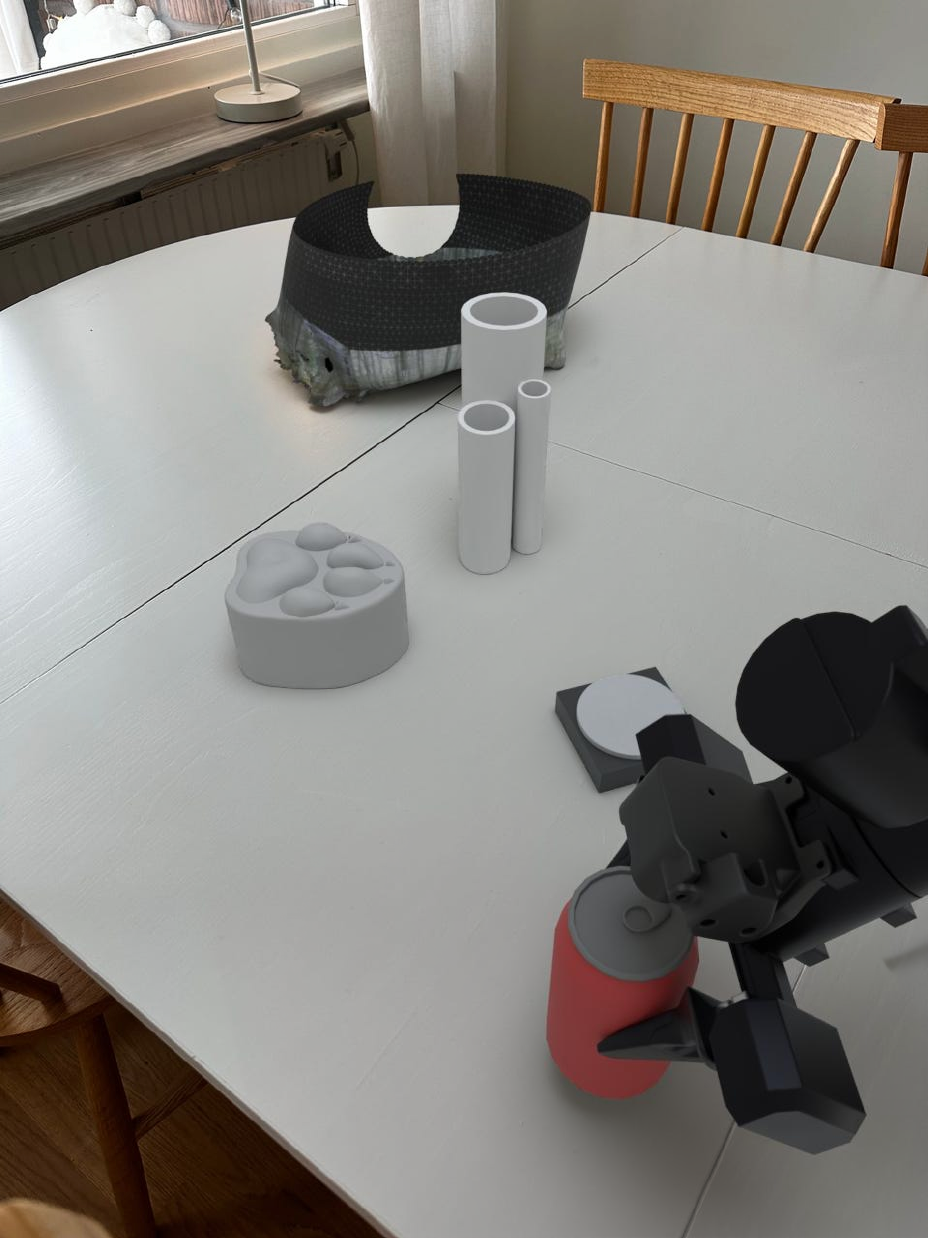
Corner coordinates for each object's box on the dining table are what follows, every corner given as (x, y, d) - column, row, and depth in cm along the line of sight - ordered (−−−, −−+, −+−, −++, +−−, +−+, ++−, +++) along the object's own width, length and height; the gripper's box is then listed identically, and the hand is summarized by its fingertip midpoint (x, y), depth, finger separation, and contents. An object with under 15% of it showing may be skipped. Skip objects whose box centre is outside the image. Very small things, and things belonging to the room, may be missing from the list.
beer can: (696, 1074, 50) (737, 957, 42) (580, 1125, 48) (598, 1014, 40) (633, 961, 54) (659, 836, 46) (524, 1005, 53) (531, 883, 44)
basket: (296, 297, 123) (279, 162, 112) (574, 296, 123) (584, 161, 112) (260, 416, 103) (234, 265, 92) (594, 415, 102) (608, 263, 91)
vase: (463, 495, 92) (461, 291, 78) (540, 497, 92) (551, 292, 78) (458, 573, 84) (455, 360, 70) (542, 575, 83) (556, 362, 70)
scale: (652, 684, 74) (656, 661, 72) (703, 763, 68) (709, 740, 67) (554, 710, 72) (556, 686, 71) (599, 793, 67) (602, 770, 65)
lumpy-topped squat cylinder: (258, 596, 82) (241, 512, 76) (413, 598, 81) (408, 515, 75) (232, 687, 74) (211, 602, 68) (403, 690, 74) (397, 605, 68)
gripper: (708, 580, 42) (458, 757, 49) (861, 996, 29) (485, 1157, 36) (843, 694, 48) (601, 838, 55) (1025, 1087, 34) (672, 1210, 41)
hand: (590, 979), depth 47 cm, fingers closed on beer can, 6 cm apart
